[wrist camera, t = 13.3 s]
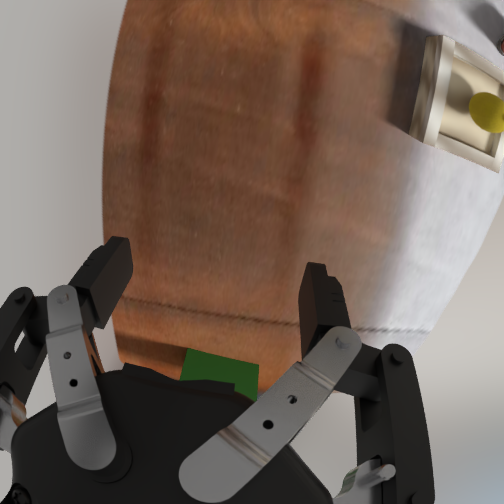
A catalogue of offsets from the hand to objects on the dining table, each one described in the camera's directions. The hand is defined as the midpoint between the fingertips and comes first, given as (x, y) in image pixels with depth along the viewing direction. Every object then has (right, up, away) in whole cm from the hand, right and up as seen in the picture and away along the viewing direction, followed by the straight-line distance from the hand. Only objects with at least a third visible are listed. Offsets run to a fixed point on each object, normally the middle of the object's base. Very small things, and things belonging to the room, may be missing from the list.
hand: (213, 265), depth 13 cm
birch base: (+33, +23, +19) cm, 45 cm away
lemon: (+33, +21, +15) cm, 42 cm away
